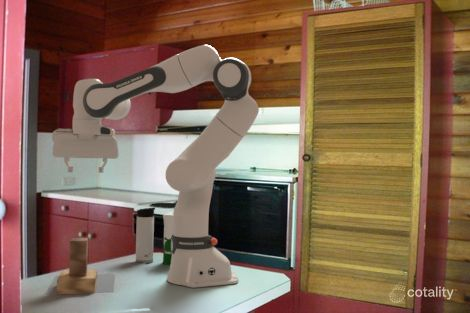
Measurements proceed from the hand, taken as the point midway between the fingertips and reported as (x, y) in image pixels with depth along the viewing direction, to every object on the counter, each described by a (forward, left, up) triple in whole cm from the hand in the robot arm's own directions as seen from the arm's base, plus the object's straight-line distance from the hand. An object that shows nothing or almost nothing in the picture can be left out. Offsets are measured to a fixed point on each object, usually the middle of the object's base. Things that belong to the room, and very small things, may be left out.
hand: (85, 172), depth 150 cm
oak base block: (0, +17, -32) cm, 37 cm away
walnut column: (0, +17, -28) cm, 33 cm away
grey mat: (-1, +12, -33) cm, 35 cm away
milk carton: (-31, -14, -33) cm, 48 cm away
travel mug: (-20, -17, -33) cm, 42 cm away
